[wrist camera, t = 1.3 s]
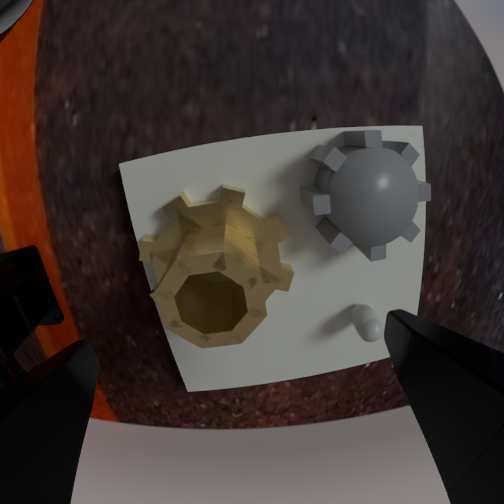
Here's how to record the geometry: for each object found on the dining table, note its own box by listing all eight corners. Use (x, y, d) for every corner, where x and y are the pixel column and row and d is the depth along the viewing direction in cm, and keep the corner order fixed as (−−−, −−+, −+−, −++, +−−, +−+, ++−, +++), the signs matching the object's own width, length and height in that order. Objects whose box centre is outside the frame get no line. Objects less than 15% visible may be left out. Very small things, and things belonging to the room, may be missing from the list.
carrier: (189, 378, 23) (183, 422, 19) (127, 161, 17) (95, 170, 13) (403, 340, 23) (428, 375, 19) (410, 125, 17) (453, 127, 12)
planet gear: (167, 326, 19) (151, 381, 14) (132, 201, 16) (94, 228, 11) (295, 308, 19) (312, 361, 14) (280, 175, 16) (299, 191, 11)
